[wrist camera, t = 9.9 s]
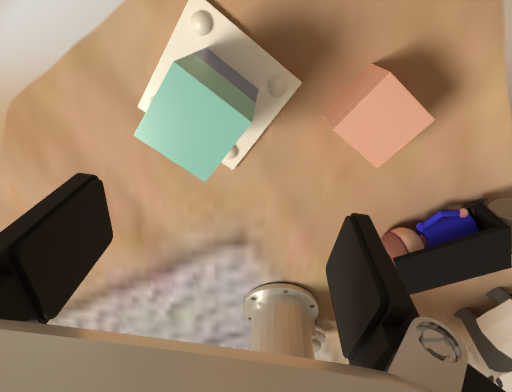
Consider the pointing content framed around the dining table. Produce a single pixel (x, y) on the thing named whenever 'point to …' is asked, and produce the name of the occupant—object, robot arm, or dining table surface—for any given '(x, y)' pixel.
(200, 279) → the dining table surface
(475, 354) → the giant panda
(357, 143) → the coral brick
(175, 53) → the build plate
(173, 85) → the teal brick
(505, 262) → the figurine character
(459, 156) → the dining table surface
